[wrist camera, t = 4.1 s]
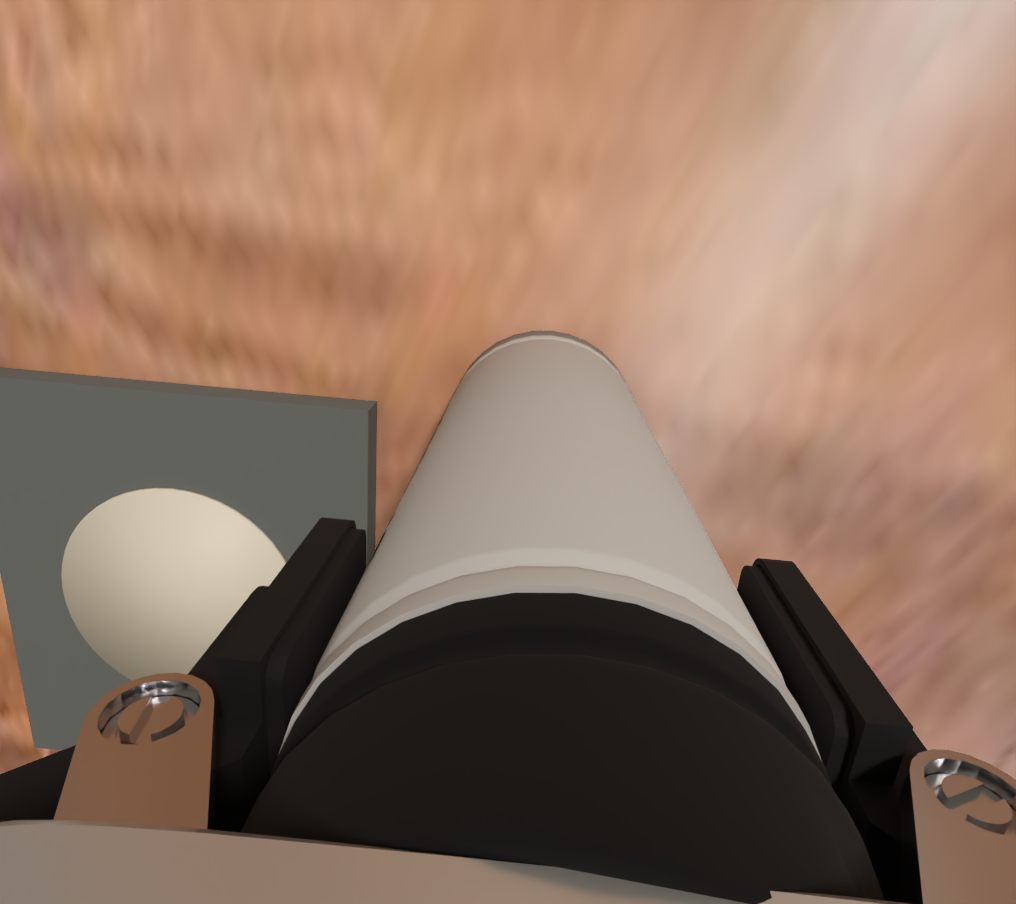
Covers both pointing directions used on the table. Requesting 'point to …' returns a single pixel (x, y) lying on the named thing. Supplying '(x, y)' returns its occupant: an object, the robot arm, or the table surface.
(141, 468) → the mat
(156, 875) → the robot arm
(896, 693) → the table surface
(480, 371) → the travel mug
